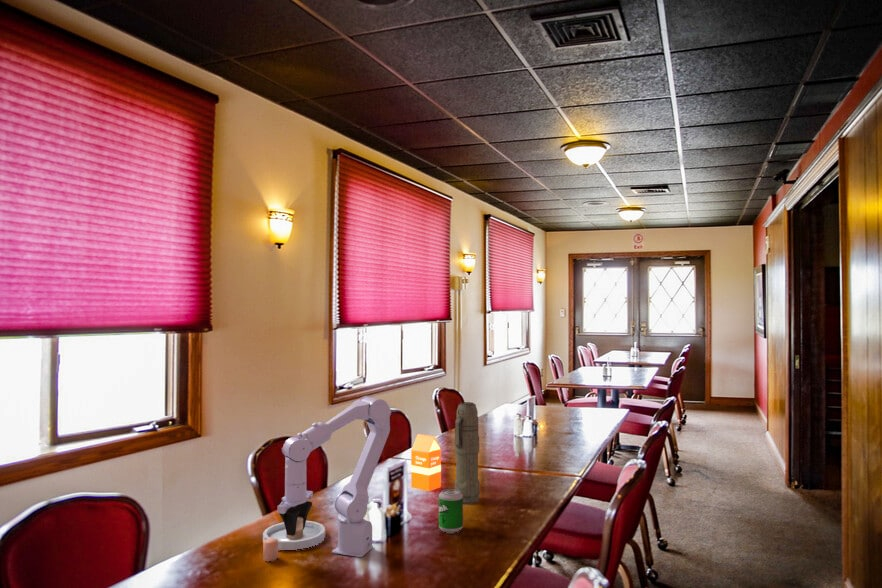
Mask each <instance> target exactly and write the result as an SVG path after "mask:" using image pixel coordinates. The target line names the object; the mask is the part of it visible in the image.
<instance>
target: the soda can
mask: <svg viewBox="0 0 882 588" xmlns="http://www.w3.org/2000/svg"><path fill="white" fill-rule="evenodd" d="M463 511H464V504H463V495H462V493H461V492H460V491H459V490H456V489H455V488H446V489H443V490H441V491H440V493H439V494H438V528H439V529H440V530H441V532H442V531H443V533H444V532H446V533H445V534H455V533H454V532H457V533H459V532H460V531H461V530H462V529H463V525H464V512H463ZM459 530H460V531H459ZM458 531H459V532H458Z"/></svg>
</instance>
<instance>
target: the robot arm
mask: <svg viewBox="0 0 882 588" xmlns="http://www.w3.org/2000/svg"><path fill="white" fill-rule="evenodd" d="M391 414H392V410H391V408H390V406H389V404H388V402H387V401H386V400H384V399H382V398H380V399H379V398H376V397H373V396H369V395H364V396H362V397H360V398H359V399H357V400H355V401H353V402H352V404H350V405H349V406H348V407H346V408H345V409H343V410H342V411H340V412H339V413H337V414H336V415H335V416H334V417H332V418H331V419H329V420H327V422H321V421H319V422H316V421H315V422H313V423H312V424H311V426H310V427H309V428H308V429H306V430H304V431H303V432H298V433H297V434H296V435H297V436H291V437H289V438H288V439H286V440H285V441H284V443H283V446H282V447H281V452H282V454H283V455H284V459H285V460H284V462H285V463H284V465H285V466H284V469H285V470H284V474H285V475H284V496H283V497H281V502H280V504H279V505H277V512H276V513H277V514H279V515H280V518H281V519H282V521H283V522H284V525H285V528H286V532H287V535H291V536H294V535H295V532H296V523H297V518H298V517H302V518H303V530H304V527H305V523H306V521H307V519H308V514H309V513H310V510H311V508H312V506H313V501H308V500H311V499H313V496H314V495H313V493H314V491H312V490H307V459H308V457H309V455H310V454H311V452H312V451H314V450H316V449H317V448H319V447H320V446H322V445H324V444H325V443H327V442H328V441H330V440H331V437H332V435H333V433H334V432H336V431H338V430H340V429H341V428H343V427H345V426H346V425H348V424H350V423H353V422H354V421H355V420H364V421H365V422H366V424H367V426H368V429H369V434H368V436H367V439H366V441H365V443H364V445H363V446H364V447H363V449H362V451H361V454H360V456H359V459H358V461H357V464H356V465H355V469H354V471H353V473H352V475H351V479H350V481H349V482H348V483H347V484H345V485H344V486H343V488H342V490H341V492H340V493H339V494H337V496H336V497H335V500H334V508H335V511H336V512H337V513H338V516H337V547H335V548H334V549H332V551H331V553H332V554H336V555H345V556H351V557H357V558H363V556H365V555H366V554H367V553H368V552H370V550H372V549H373V548H374V545H373V524H372V521H370V520H366V519H365V516H366V515H367V511H368V502H369V497H370V496H369V491H368V488H369V486H370V483H371V480H372V478H373V475H374V473H375V471H376V468H377V465H378V462H379V460H380V457H381V455H382V452H383V450H384V447H385V445H386V442H387V439H388V437H389V434H390V433H391V432H390V431H391V425H390V424H391V423H390V421H391V420H390V416H391Z"/></svg>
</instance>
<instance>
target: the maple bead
mask: <svg viewBox="0 0 882 588" xmlns="http://www.w3.org/2000/svg"><path fill="white" fill-rule="evenodd" d="M302 538H303V518H302V517H298V518H297V523H296V532H295V535H294V536H291V535H288V539H290V540H299V539H302Z"/></svg>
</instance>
